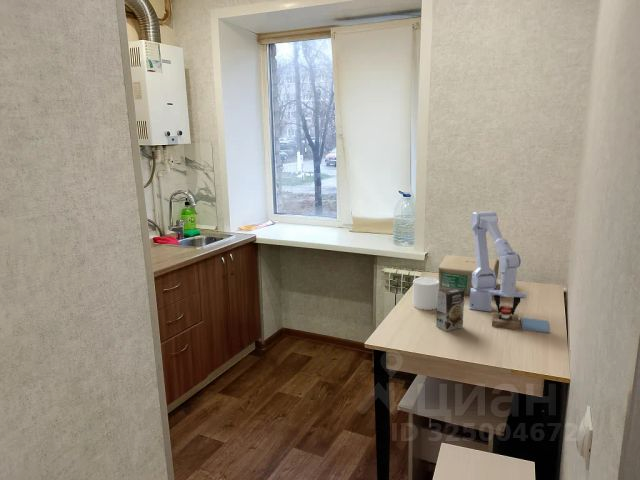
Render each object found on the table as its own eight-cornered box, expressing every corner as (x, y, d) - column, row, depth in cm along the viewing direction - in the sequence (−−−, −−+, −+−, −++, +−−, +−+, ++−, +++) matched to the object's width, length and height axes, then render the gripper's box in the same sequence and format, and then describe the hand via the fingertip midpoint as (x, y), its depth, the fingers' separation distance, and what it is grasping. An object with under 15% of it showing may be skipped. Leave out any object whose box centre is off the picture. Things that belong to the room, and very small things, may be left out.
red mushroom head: (498, 324, 193) (500, 308, 191) (498, 320, 197) (500, 304, 196) (511, 326, 191) (512, 310, 190) (511, 321, 196) (512, 306, 194)
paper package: (436, 292, 232) (437, 266, 228) (445, 277, 254) (446, 253, 251) (493, 300, 221) (495, 272, 217) (497, 283, 243) (499, 258, 240)
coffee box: (446, 332, 187) (448, 294, 183) (435, 326, 193) (437, 289, 189) (463, 327, 191) (465, 290, 187) (452, 321, 197) (454, 285, 193)
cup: (433, 311, 208) (434, 286, 205) (408, 307, 214) (409, 282, 211) (441, 303, 217) (442, 279, 214) (417, 299, 223) (418, 275, 220)
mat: (522, 329, 187) (522, 328, 187) (521, 318, 198) (521, 317, 198) (549, 333, 184) (549, 332, 184) (546, 321, 195) (547, 320, 195)
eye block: (491, 326, 191) (492, 320, 191) (492, 317, 201) (492, 311, 200) (518, 329, 188) (519, 323, 187) (517, 319, 197) (518, 314, 196)
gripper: (489, 283, 189) (487, 314, 192) (527, 287, 184) (525, 319, 187) (489, 278, 195) (487, 308, 198) (527, 281, 190) (524, 312, 193)
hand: (505, 313), depth 193 cm, fingers closed on red mushroom head, 5 cm apart
